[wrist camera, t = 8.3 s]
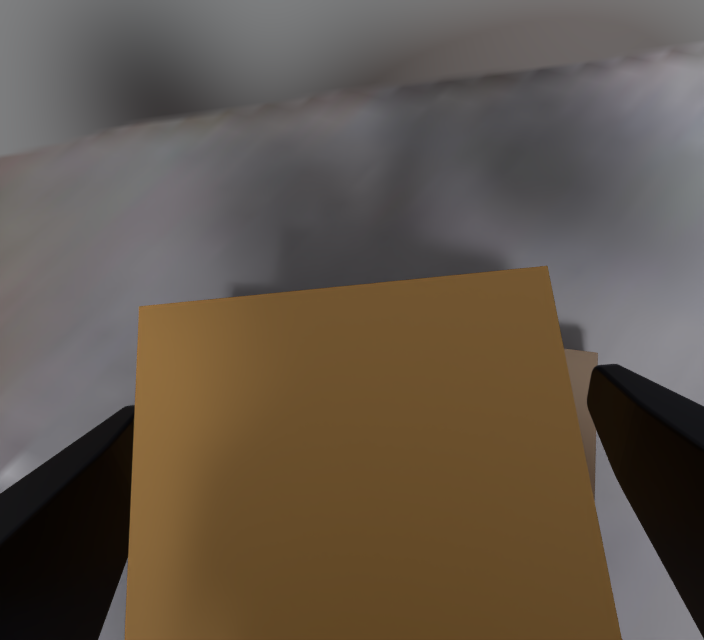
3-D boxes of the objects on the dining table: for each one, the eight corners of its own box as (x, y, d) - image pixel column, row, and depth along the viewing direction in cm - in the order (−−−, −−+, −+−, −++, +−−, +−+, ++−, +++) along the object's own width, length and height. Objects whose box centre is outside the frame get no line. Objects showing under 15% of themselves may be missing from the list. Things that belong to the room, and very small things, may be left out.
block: (451, 520, 16) (649, 778, 4) (323, 529, 17) (118, 798, 4) (435, 392, 17) (546, 265, 5) (316, 402, 18) (139, 306, 5)
